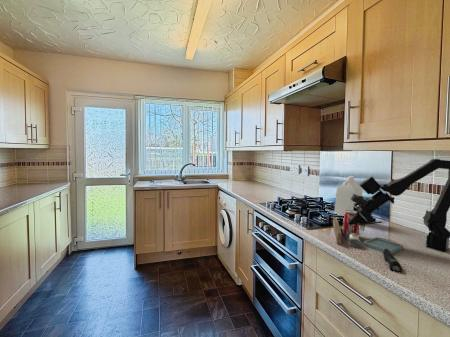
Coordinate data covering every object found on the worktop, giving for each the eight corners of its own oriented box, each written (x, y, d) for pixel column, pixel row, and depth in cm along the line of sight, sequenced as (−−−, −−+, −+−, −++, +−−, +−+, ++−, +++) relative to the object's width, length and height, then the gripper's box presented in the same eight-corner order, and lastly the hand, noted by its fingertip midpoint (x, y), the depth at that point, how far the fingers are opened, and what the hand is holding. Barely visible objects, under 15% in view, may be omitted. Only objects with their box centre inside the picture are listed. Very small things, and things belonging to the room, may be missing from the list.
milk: (353, 223, 140) (356, 178, 138) (333, 218, 149) (336, 176, 147) (362, 220, 148) (365, 177, 146) (342, 215, 157) (345, 175, 154)
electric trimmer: (391, 256, 98) (392, 248, 98) (402, 274, 84) (403, 265, 84) (380, 254, 100) (381, 247, 100) (389, 271, 85) (390, 262, 85)
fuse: (359, 244, 109) (360, 234, 108) (355, 246, 107) (356, 236, 106) (352, 242, 112) (352, 232, 111) (347, 243, 110) (348, 233, 109)
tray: (402, 249, 105) (403, 245, 105) (390, 254, 99) (390, 250, 99) (375, 240, 114) (375, 237, 114) (362, 245, 108) (363, 241, 108)
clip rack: (352, 227, 133) (352, 218, 132) (361, 247, 105) (362, 236, 105) (332, 225, 136) (333, 216, 136) (337, 244, 109) (337, 233, 108)
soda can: (362, 238, 117) (363, 213, 116) (348, 238, 116) (350, 213, 115) (352, 232, 124) (353, 209, 123) (339, 233, 123) (340, 209, 122)
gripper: (359, 186, 125) (334, 205, 130) (366, 192, 108) (337, 213, 113) (376, 202, 123) (350, 221, 128) (386, 211, 106) (355, 233, 111)
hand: (348, 222), depth 120 cm, fingers closed on soda can, 7 cm apart
